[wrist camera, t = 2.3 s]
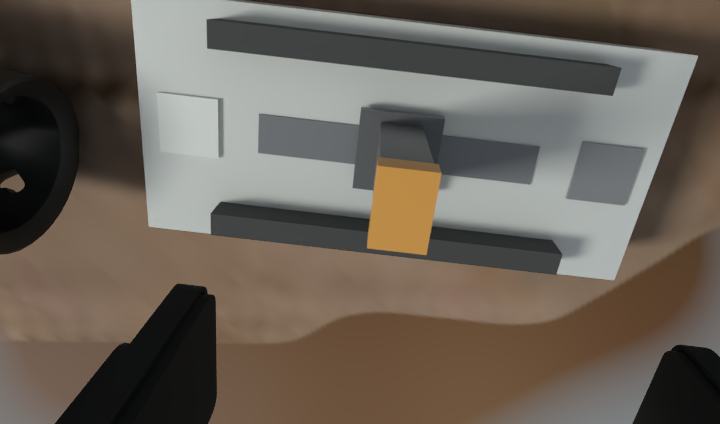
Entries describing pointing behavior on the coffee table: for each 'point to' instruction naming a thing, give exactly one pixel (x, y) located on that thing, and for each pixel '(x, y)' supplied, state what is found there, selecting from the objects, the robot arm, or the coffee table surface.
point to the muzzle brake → (34, 156)
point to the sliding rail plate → (415, 60)
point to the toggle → (399, 176)
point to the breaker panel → (409, 94)
